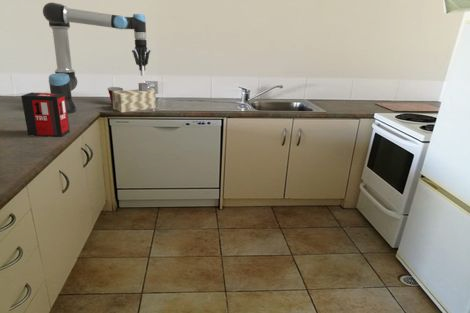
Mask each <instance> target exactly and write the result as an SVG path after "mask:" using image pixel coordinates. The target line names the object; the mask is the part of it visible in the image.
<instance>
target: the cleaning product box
mask: <svg viewBox="0 0 470 313" xmlns="http://www.w3.org/2000/svg"><path fill="white" fill-rule="evenodd" d="M20 97H21V102H22V108H23V109H22V110H23V113H24V119H25V125H26V131H27V136H28V135H34V136H33V137H48V136H52V137H53V138H57V137H58V138H63V137H65V136H66V135H68V134H70V133H71V131H70V130H71V129H70V123H69V117H68V116H69V115H68V114H69V113H67V107H66V99H65V94H54V93H51V92H50V93H49V92H28V93H26V94H22V95H21V96H20Z"/></svg>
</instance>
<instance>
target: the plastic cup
mask: <svg viewBox="0 0 470 313" xmlns="http://www.w3.org/2000/svg"><path fill="white" fill-rule="evenodd" d="M106 89H107V91H108V94H109V98H110V102H111V105H112V106H113V98H112V92H113V91H124V88H123V87H119V86H118V87H117V86H110V87H107V88H106Z"/></svg>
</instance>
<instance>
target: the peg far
mask: <svg viewBox="0 0 470 313" xmlns="http://www.w3.org/2000/svg"><path fill="white" fill-rule="evenodd" d="M148 86H149V85H148V83H146V82H138V89H139V91H148V89H149V88H148Z"/></svg>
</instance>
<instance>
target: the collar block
mask: <svg viewBox="0 0 470 313" xmlns="http://www.w3.org/2000/svg"><path fill="white" fill-rule="evenodd" d="M121 92H129V93H121ZM112 98H113V105H112V108H113V110H114V111H117V112H119V113H128V112H137V111H144V110H151V109H153V110H154V109H156V108H157V103H156V101H157V100H156V91H155V90H152V89H149V88H148V91H139V88H138V89H127V90H123V91H113V92H112Z"/></svg>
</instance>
